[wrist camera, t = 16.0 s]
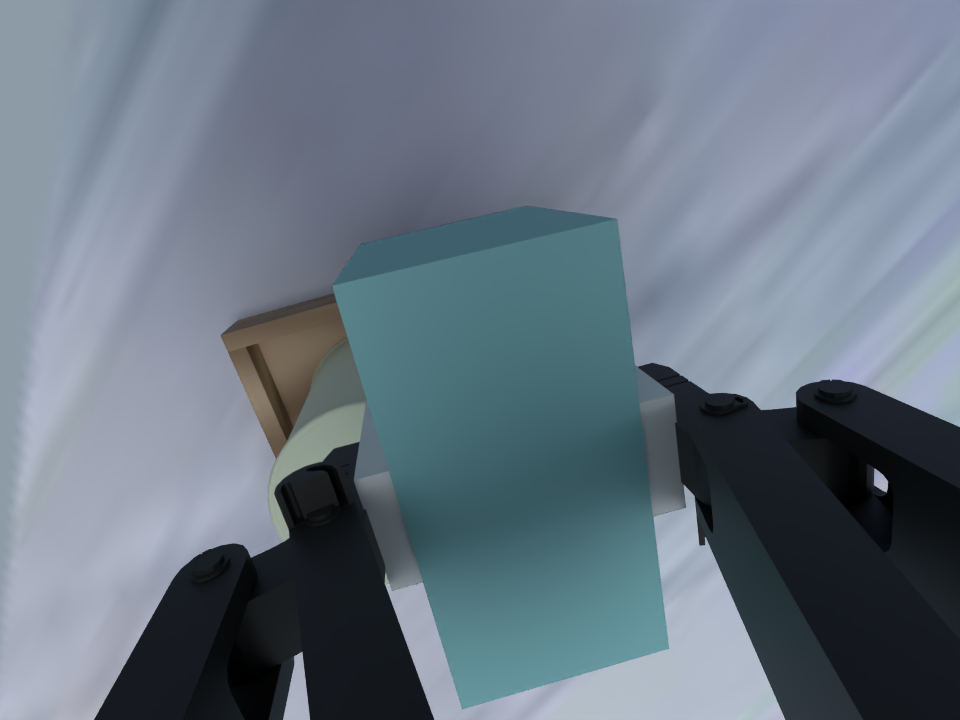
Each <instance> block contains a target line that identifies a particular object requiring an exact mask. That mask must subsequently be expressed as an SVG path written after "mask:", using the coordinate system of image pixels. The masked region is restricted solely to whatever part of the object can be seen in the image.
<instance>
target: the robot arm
mask: <svg viewBox="0 0 960 720" xmlns="http://www.w3.org/2000/svg"><path fill="white" fill-rule="evenodd" d="M635 371H636V379H637V388H638V396H639V404H640V413H641V421H642V429H643V437H644V446H645V454H646V462H647V471H648V479H649V487H650V495H651V504H652V512H653V517H654V516H657V515H661V514H664V513H668V512H671V511H675V510H679V509H682V508H686V504H685V495H684V485H685V486H686V487H687V488H688V489H689V490H690V491H691V492H692V493H693V495H694V496H695V504H696V514H697V524H698V534H699V544H700V545H705V537H706V538H707V541H708V543H709V545H710V548H711V550H712V552H713V555H714V557H715V559H716V561H717V564H718V566H719V568H720V571H721V573H722V575H723V577H724V580H725V582H726V584H727V587H728V589H729V591H730V593H731V596H732V598H733V600H734V603H735V605H736V607H737V610H738V612H739V614H740V616H741V619H742V621H743V623H744V626H745V628H746V630H747V632H748V635H749V637H750V639H751V642H752V644H753V646H754V649H755V651H756V653H757V655H758V658H759V660H760V662H761V665H762V667H763V669H764V671H765V674H766V676H767V678H768V681H769V683H770V685H771V688H772V690H773V692H774V694H775V697H776V699H777V701H778V704H779V706H780V708H781V710H782V713H783V715H784V717H785V720H960V427H958V426H956V425H954V424H951V423H949V422H947V421H944V420H942V419H940V418H937V417H935V416H933V415H931V414H928V413H926V412H924V411H921V410H919V409H917V408H914V407H912V406H910V405H908V404H905V403H903V402H901V401H898V400H896V399H894V398H891V397H889V396H887V395H885V394H882V393H880V392H878V391H875V390H873V389H871V388H868V387H866V386H863V385H860V384H856V383H852V382H845V381H842V380H832V381H830V380H822V381H820V382H814V383H810V384H807V385H805V386H802V387H800V389H799V390H798V391H797V392H796V407H794V408H783V409H773V410H760V409H759V408H758V407H757V406H756V404H755V403H754V402H753V401H751V400H750V399H748V398H747V397H744V396H740V395H737V394H729V393H715V394H709V393H707V392H706V391H704V390H703V389H701V388H700V387H698V386H697V385H695V384H694V383H692V382H691V381H690V382H689V381H688V379H686V378H685V377H683V376H680V374H679V373H677V372H676V371H674V370H673V369H671V368H670V367H666V366H663V365H659V364H655V363H650V364H647V365H643V366H639V367H637V366H635ZM874 468H875V469H877V470H878V471H879V472H880V473H882V474H883V475H884V476H885V478H886V479H887V480H888V490H887V493H886V492H884V491H882V490H880V489H879V488H877V487H876V486H874ZM683 484H684V485H683ZM274 495H275V498H276V500H277V502H278V505H279V507H280V510H281V512H282V515H283V517H284V520H285V522H286V525H287V527H288V529H289V538H288V539H287V540H285V541H284V542H283V543H281V544H279V545H277V546H275V547H273V548H271V549H269V550H267V551H265V552H263V553H261V554H258V555H256V556H254V557H252V558H251V557H250V555H249V553H248V551H247V549H246V548H245V547H244V546H243V545H239V544H228V545H221V546H219V547H216V548H213V549H209V550H207V551H205V552H203V553H202V554H199V555H198V556H196V557H194V558H193V559H192V560H191V561H190V562H189V563H188V564H186V565H185V566H184V567H183V568H182V569H181V570H180V571H179V572H178V574H177V575H176V576H175V577H174V579H173V580H172V582H171V584H170V586H169V587H168V589H167V591H166V593H165V594H164V596H163V598H162V600H161V602H160V603H159V605H158V607H157V609H156V610H155V612H154V614H153V616H152V618H151V619H150V621H149V623H148V625H147V627H146V628H145V630H144V632H143V634H142V635H141V637H140V639H139V641H138V643H137V644H136V646H135V648H134V650H133V651H132V653H131V655H130V657H129V659H128V660H127V662H126V664H125V666H124V667H123V669H122V671H121V673H120V675H119V676H118V678H117V680H116V682H115V683H114V685H113V687H112V689H111V691H110V692H109V694H108V696H107V698H106V699H105V701H104V703H103V705H102V707H101V708H100V710H99V712H98V714H97V715H96V717H95V719H94V720H283V716H284V712H285V707H286V702H287V697H288V692H289V687H290V682H291V678H292V673H293V668H294V656H295V655H297V654H299V653H301V652H303V660H304V669H305V678H306V687H307V695H308V704H309V713H310V720H434V718H433V715H432V712H431V710H430V707H429V704H428V701H427V699H426V696H425V693H424V690H423V688H422V685H421V682H420V679H419V677H418V674H417V671H416V668H415V666H414V663H413V660H412V657H411V655H410V652H409V649H408V646H407V644H406V641H405V638H404V635H403V633H402V630H401V627H400V624H399V622H398V619H397V616H396V613H395V611H394V608H393V605H392V602H391V600H390V597H389V594H388V591H387V589H386V586H385V573H386V576H387V579H388V581H389V584H390V587H391V590H392V591H394V590H397V589H401V588H404V587H408V586H411V585H415V584H418V583H422V582H423V580H422V577H421V574H420V570H419V567H418V564H417V561H416V557H415V554H414V551H413V548H412V545H411V541H410V538H409V535H408V532H407V528H406V525H405V522H404V519H403V515H402V512H401V509H400V506H399V502H398V499H397V496H396V493H395V489H394V486H393V483H392V480H391V476H390V473H389V470H388V467H387V463H386V460H385V457H384V454H383V450H382V447H381V444H380V441H379V437H378V434H377V431H376V428H375V424H374V421H373V418H372V415H371V411H370V408H369V405H368V402H367V398H366V405H365V411H364V417H363V424H362V430H361V437H360V442H357V443H353V444H349V445H345V446H341V447H338V448H334V449H333V450H332V451H331V452H330V453H329V454H328V455H327V457H326V458H325V459H324V460H323V462H318V463H314V464H311V465H307V466H305V467H303V468H300V469H298V470H296V471H294V472H292V473H291V474H289V475H288V476H287V477H285V478H284V479H283V480H282V481H281V482H280V483H279V484H278V485H277V486H276V488H275V492H274Z"/></svg>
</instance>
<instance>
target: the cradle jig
mask: <svg viewBox="0 0 960 720" xmlns="http://www.w3.org/2000/svg"><path fill="white" fill-rule="evenodd" d="M221 337H222V340H223V342H224V344H225V346H226V349H227V351H228V353H229V355H230V357H231V360H232V362H233V364H234V366H235V369H236V371H237V373H238V375H239V377H240V380H241V382H242V384H243V386H244V389H245V391H246V393H247V395H248V397H249V400H250V402H251V404H252V406H253V409H254V411H255V413H256V415H257V417H258V420H259V422H260V424H261V426H262V428H263V431H264V433H265V435H266V437H267V440H268V442H269V444H270V446H271V448H272V451H273V453H274V455H275V457H276V459H277V457H278V455H279V453H280V451H281V450H282V448H283V447H284V445H285V444H286V442H287V440H288V438H289V436H290V434H291V432H292V430H293V428H294V426H295V424H296V422H297V419H298V417H299V415H300V413H301V410H302V408H303V406H304V404H305V401H306V399H307V397H308V394H309V392H310V388H311V383H312V379H313V376H314V373H315V371H316V369H317V367H318V365H319V363H320V362H321V360H322V359H323V357H324V356H325V355H326V354H327V352H328V351H329V350H330V349H331V348H333V347H334V346H335V345H336V344H337V343H339V342H340V341H342V340H343V339H345V338H347V334H346V330H345V327H344V324H343V321H342V317H341V314H340V311H339V308H338V304H337V301H336V298H335V295H334V294H330V295H327V296H323V297H320V298H316V299H313V300H309V301H306V302H302V303H299V304H295V305H292V306H288V307H285V308H281V309H278V310H274V311H270V312H267V313H263V314H260V315H256V316H253V317H249V318H246V319H242V320H239V321H237V322H236V323H234V324H233V325H232V326H231V327H230V328H228V329H227V330H226V331H225V332H224V333H223V334H221Z"/></svg>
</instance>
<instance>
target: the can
mask: <svg viewBox="0 0 960 720" xmlns="http://www.w3.org/2000/svg"><path fill="white" fill-rule="evenodd" d="M365 405H366V395H365V392H364V389H363V386H362V382H361V379H360V376H359V373H358V369H357V366H356V363H355V360H354V356H353V353H352V350H351V347H350V343H349V340H348V337H347V338H345V339H343V340H342V341H340V342H339V343H337V344H336V345H335V346H334V347H333V348H331V349H330V350H329V351H328V352H327V354H326V355H325V356H324V357H323V359H322V360H321V362H320V363H319V365H318V367H317V369H316V371H315V373H314V376H313V379H312V383H311V388H310V392H309V394H308V397H307V399H306V401H305V404H304V406H303V408H302V410H301V413H300V415H299V417H298V419H297V422H296V424H295V426H294V428H293V430H292V432H291V434H290V436H289V438H288V440H287V442H286V444H285V445H284V447H283V448H282V450H281V451H280V453H279V455H278V457H277V459H276V461H275V463H274V466H273V469H272V472H271V475H270V480H269V487H268V504H269V511H270V515H271V519H272V522H273V525H274V527H275V529H276V531H277V533H278V535H279V537H280V538H281V540H282V541H283V542H284V541H285V540H287V539H288V538H289V529H288V527H287V525H286V522H285V520H284V517H283V515H282V512H281V510H280V507H279V505H278V502H277V500H276V498H275V495H274V492H275V488H276V486H277V485H278V484H279V483H280V482H281V481H282V480H283V479H284V478H285V477H287V476H288V475H289V474H291V473H292V472H294V471H296V470H298V469H300V468H303V467H305V466H307V465H311V464H314V463H318V462H323V460H324V459H325V458H326V457H327V455H328V454H329V453H330V452H331V451H332V450H333V449H334V448H338V447H341V446H345V445H349V444H353V443H357V442H360V437H361V430H362V424H363V417H364V411H365ZM387 584H389V581H388V579H387V576H386V573H385V585H387Z"/></svg>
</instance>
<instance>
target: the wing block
mask: <svg viewBox="0 0 960 720" xmlns="http://www.w3.org/2000/svg"><path fill="white" fill-rule="evenodd" d="M332 288H333V291H334V295H335V298H336V301H337V304H338V308H339V311H340V314H341V317H342V321H343V324H344V327H345V330H346V334H347V337H348V340H349V343H350V347H351V350H352V353H353V356H354V360H355V363H356V366H357V369H358V373H359V376H360V379H361V382H362V386H363V389H364V392H365V395H366V398H367V402H368V405H369V408H370V411H371V415H372V418H373V421H374V424H375V428H376V431H377V434H378V437H379V441H380V444H381V447H382V450H383V454H384V457H385V460H386V463H387V467H388V470H389V473H390V476H391V480H392V483H393V486H394V489H395V493H396V496H397V499H398V502H399V506H400V509H401V512H402V515H403V519H404V522H405V525H406V528H407V532H408V535H409V538H410V541H411V545H412V548H413V551H414V554H415V557H416V561H417V564H418V567H419V570H420V574H421V577H422V580H423V583H424V587H425V590H426V593H427V596H428V600H429V603H430V606H431V609H432V613H433V616H434V619H435V622H436V626H437V629H438V632H439V635H440V639H441V642H442V645H443V648H444V652H445V655H446V658H447V661H448V665H449V668H450V671H451V674H452V678H453V681H454V684H455V687H456V691H457V694H458V697H459V700H460V704H461V707H462V709H465V708H468V707H472V706H475V705H478V704H482V703H485V702H489V701H492V700H495V699H499V698H502V697H506V696H509V695H512V694H516V693H519V692H523V691H526V690H530V689H533V688H536V687H540V686H543V685H547V684H550V683H553V682H557V681H560V680H564V679H567V678H570V677H574V676H577V675H581V674H584V673H587V672H591V671H594V670H598V669H601V668H604V667H608V666H611V665H615V664H618V663H621V662H625V661H628V660H632V659H635V658H639V657H642V656H645V655H649V654H652V653H656V652H659V651H662V650H666V649H669V645H668V636H667V628H666V620H665V612H664V603H663V595H662V587H661V578H660V570H659V562H658V553H657V545H656V537H655V529H654V520H653V512H652V504H651V495H650V487H649V479H648V471H647V462H646V454H645V446H644V437H643V429H642V421H641V413H640V404H639V396H638V388H637V379H636V371H635V363H634V354H633V346H632V338H631V330H630V321H629V313H628V305H627V296H626V288H625V280H624V272H623V263H622V255H621V247H620V238H619V230H618V222H617V219H615V218H608V217H601V216H594V215H587V214H580V213H573V212H566V211H559V210H552V209H545V208H538V207H531V206H524V207H520V208H515V209H511V210H507V211H502V212H498V213H494V214H489V215H485V216H481V217H476V218H472V219H468V220H463V221H459V222H455V223H450V224H446V225H441V226H437V227H433V228H428V229H424V230H420V231H415V232H411V233H407V234H402V235H398V236H394V237H389V238H385V239H381V240H376V241H372V242H368V243H363V244H361V245H360V246H359V248H358V249H357V250H356V252H355V253H354V255H353V256H352V258H351V259H350V260H349V262H348V263H347V265H346V266H345V268H344V269H343V270H342V272H341V273H340V275H339V276H338V278H337V279H336V280H335V282H334V283H333V285H332Z"/></svg>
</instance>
